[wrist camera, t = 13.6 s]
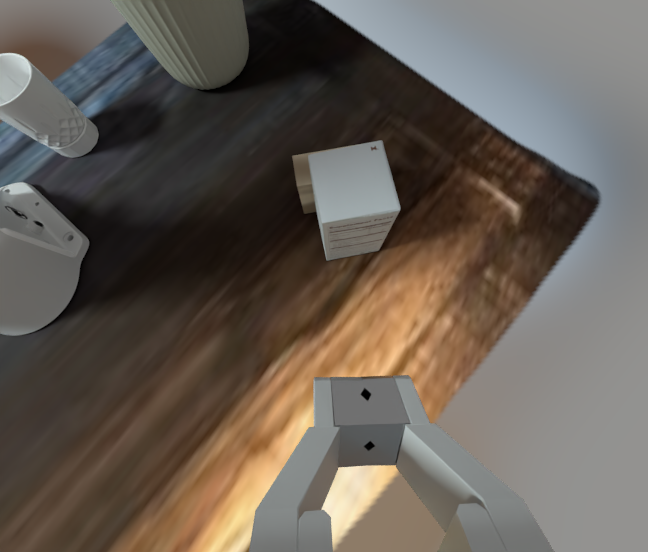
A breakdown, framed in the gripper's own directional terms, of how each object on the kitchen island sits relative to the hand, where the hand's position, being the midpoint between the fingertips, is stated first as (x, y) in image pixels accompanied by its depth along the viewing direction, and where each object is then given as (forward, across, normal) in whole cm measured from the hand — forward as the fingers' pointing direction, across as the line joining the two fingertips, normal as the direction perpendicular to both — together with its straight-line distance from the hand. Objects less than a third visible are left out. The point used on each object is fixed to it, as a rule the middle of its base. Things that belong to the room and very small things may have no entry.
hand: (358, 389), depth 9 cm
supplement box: (+29, -3, +4) cm, 30 cm away
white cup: (+42, +38, -7) cm, 57 cm away
